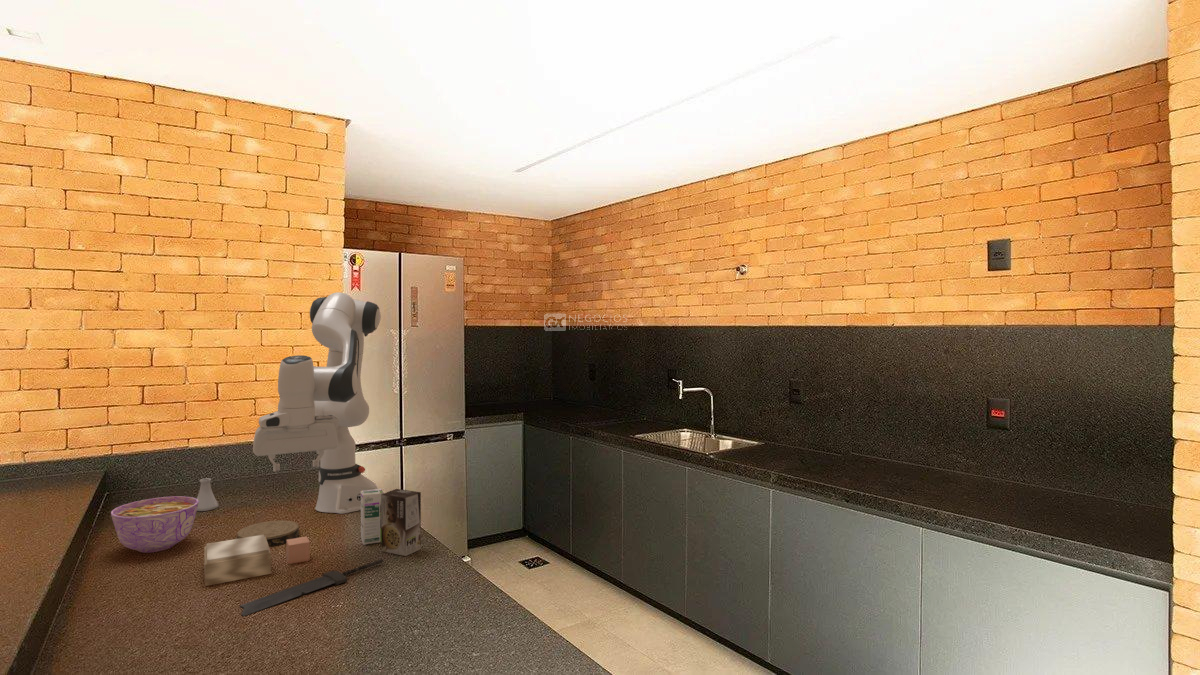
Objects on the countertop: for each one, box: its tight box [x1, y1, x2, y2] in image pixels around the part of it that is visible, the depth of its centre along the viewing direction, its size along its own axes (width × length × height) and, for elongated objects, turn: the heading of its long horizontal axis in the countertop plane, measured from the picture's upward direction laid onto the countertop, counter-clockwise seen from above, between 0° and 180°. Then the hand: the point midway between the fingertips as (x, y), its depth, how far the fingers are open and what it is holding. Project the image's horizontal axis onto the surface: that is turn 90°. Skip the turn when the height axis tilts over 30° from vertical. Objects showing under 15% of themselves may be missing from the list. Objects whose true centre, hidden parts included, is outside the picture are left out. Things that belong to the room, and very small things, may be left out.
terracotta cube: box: [285, 536, 311, 565], centre depth 165 cm, size 5×5×5 cm
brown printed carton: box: [381, 488, 422, 557], centre depth 172 cm, size 9×6×16 cm
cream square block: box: [203, 535, 272, 587], centre depth 157 cm, size 14×14×6 cm
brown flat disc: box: [236, 519, 300, 548], centre depth 180 cm, size 16×16×3 cm
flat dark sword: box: [239, 558, 384, 617], centre depth 148 cm, size 7×35×2 cm, turn 141°
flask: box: [196, 477, 220, 512], centre depth 208 cm, size 7×7×10 cm
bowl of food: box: [110, 495, 199, 554], centre depth 172 cm, size 20×20×12 cm
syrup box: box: [360, 488, 384, 546], centre depth 179 cm, size 6×6×14 cm
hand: (296, 468), depth 164 cm, fingers open, 8 cm apart
